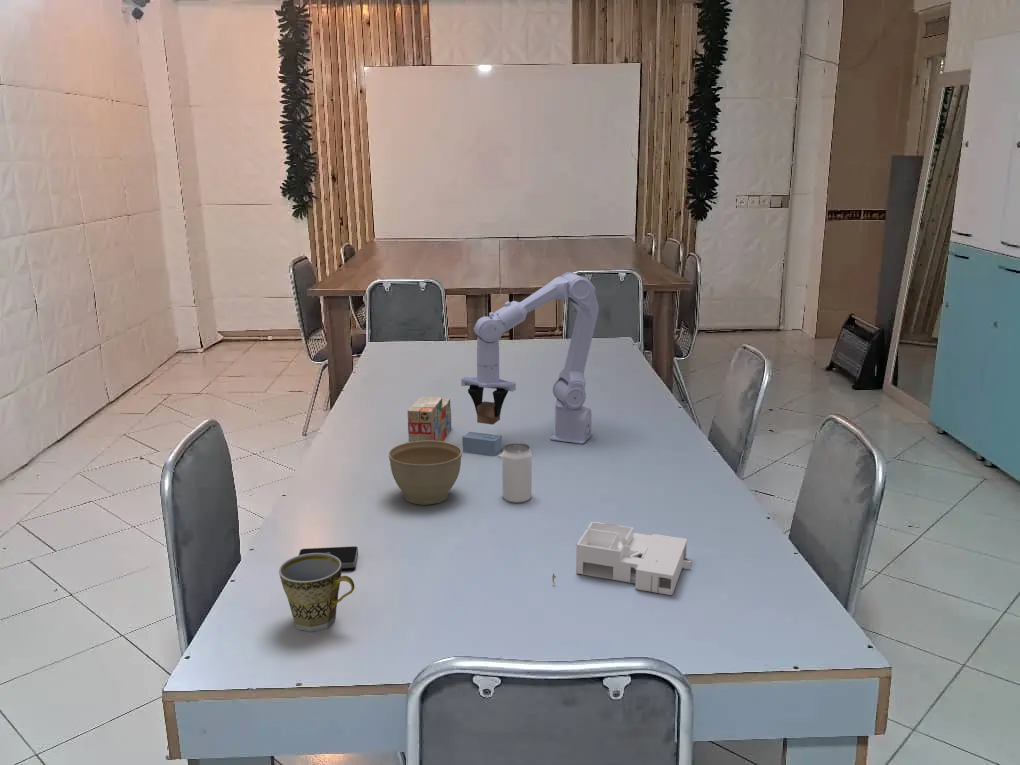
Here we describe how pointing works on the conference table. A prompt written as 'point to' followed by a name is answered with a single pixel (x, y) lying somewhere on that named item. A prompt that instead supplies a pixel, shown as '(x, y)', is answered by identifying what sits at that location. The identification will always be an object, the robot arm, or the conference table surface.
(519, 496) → the can
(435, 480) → the planter bowl
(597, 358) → the conference table surface
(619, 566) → the house
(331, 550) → the external hard drive
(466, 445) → the base brick
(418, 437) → the stack of blocks
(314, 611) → the ceramic cup
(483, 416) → the walnut brick
